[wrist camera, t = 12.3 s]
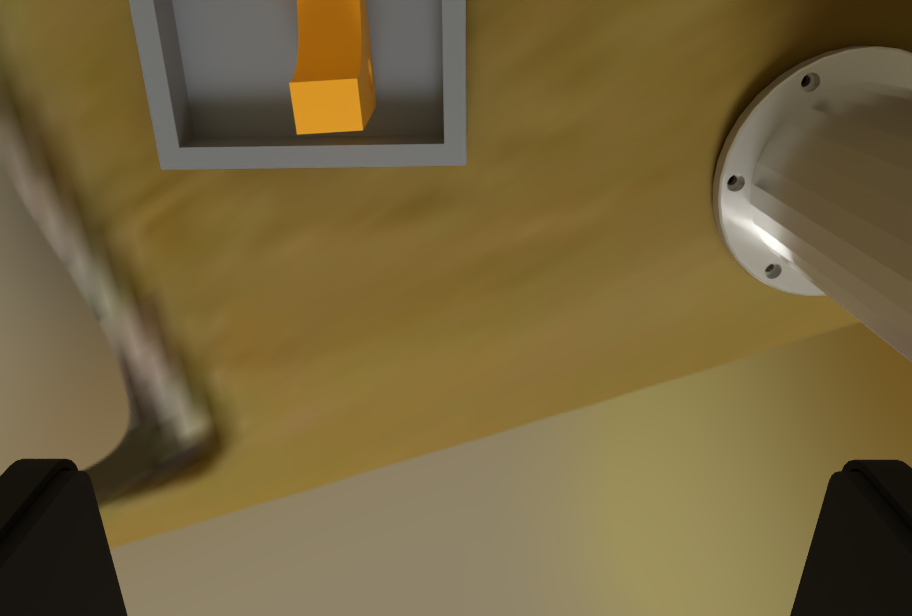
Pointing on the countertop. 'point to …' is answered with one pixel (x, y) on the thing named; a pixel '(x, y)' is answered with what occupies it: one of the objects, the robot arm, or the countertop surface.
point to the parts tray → (268, 92)
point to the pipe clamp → (333, 67)
